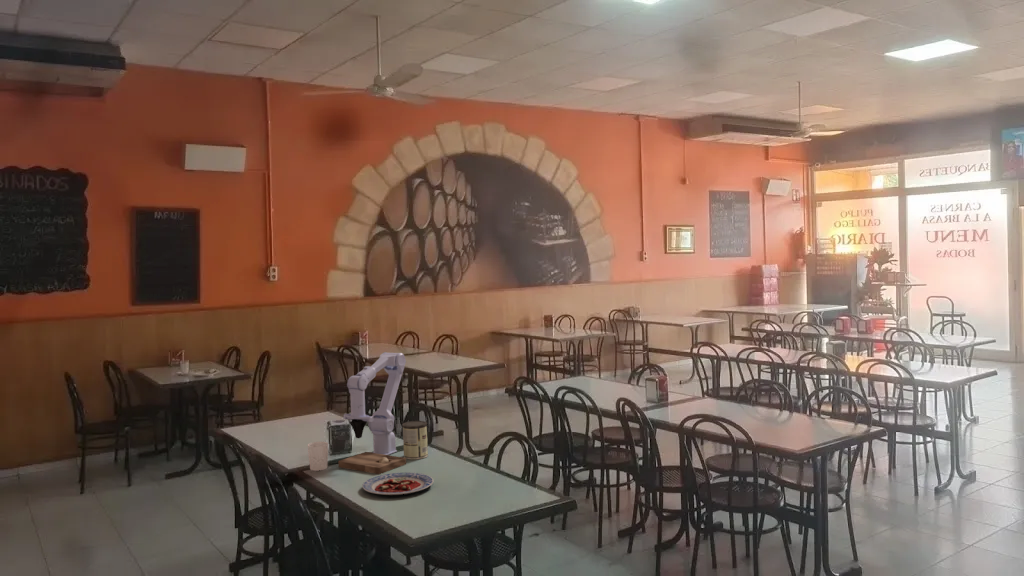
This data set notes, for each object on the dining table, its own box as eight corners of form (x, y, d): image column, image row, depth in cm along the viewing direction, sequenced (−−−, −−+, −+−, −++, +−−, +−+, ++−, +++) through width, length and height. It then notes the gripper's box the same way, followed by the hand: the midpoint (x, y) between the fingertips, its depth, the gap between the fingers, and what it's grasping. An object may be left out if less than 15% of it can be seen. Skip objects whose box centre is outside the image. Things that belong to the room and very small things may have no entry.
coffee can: (406, 453, 326) (405, 420, 325) (430, 453, 325) (429, 420, 324) (400, 459, 315) (399, 426, 315) (425, 459, 314) (423, 426, 314)
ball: (389, 468, 305) (382, 464, 307) (392, 458, 305) (385, 455, 307) (382, 469, 302) (375, 465, 304) (385, 459, 302) (378, 456, 304)
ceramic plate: (420, 501, 262) (420, 492, 262) (351, 498, 267) (350, 490, 267) (442, 479, 287) (442, 471, 287) (378, 477, 292) (377, 469, 292)
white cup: (325, 471, 302) (324, 446, 301) (306, 471, 302) (305, 446, 301) (330, 465, 309) (330, 441, 309) (311, 466, 310) (310, 441, 309)
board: (365, 457, 320) (365, 451, 320) (406, 464, 309) (406, 457, 308) (338, 467, 307) (338, 461, 307) (379, 474, 295) (379, 467, 295)
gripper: (337, 405, 312) (338, 438, 313) (364, 408, 305) (365, 441, 305) (349, 402, 318) (350, 434, 319) (376, 404, 311) (377, 437, 311)
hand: (358, 437), depth 312 cm, fingers closed
